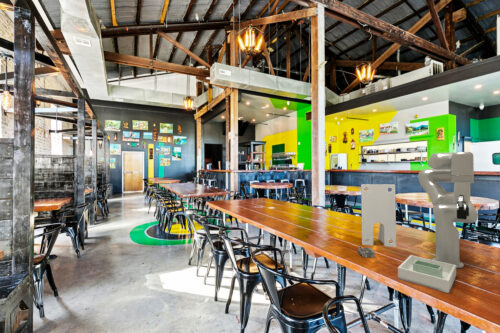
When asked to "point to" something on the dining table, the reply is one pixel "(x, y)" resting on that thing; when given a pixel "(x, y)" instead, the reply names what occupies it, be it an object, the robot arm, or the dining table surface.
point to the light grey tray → (427, 280)
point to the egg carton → (366, 252)
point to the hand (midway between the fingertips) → (463, 217)
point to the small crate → (427, 268)
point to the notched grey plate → (378, 213)
